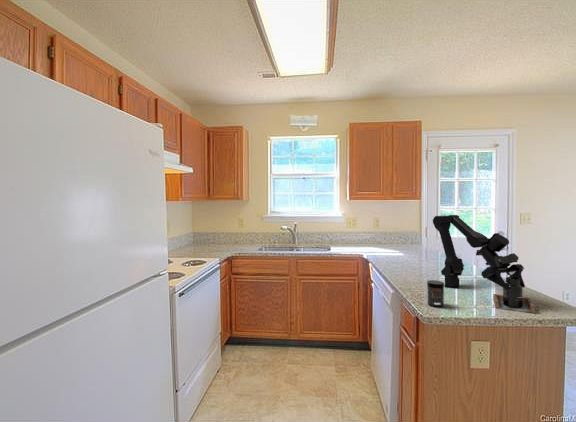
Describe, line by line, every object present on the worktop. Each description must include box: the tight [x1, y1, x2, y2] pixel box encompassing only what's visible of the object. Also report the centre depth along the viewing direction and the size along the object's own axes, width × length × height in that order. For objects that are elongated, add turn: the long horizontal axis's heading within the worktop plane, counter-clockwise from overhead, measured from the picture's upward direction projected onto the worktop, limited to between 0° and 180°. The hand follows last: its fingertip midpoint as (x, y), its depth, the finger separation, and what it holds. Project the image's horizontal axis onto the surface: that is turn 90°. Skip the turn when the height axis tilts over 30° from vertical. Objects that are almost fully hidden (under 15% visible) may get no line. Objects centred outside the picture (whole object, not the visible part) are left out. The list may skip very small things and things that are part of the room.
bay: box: [492, 293, 536, 315], centre depth 127 cm, size 13×12×3 cm
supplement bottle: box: [502, 276, 524, 308], centre depth 127 cm, size 7×7×12 cm
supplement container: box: [426, 279, 445, 308], centre depth 131 cm, size 7×7×10 cm
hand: (515, 288), depth 125 cm, fingers open, 9 cm apart
